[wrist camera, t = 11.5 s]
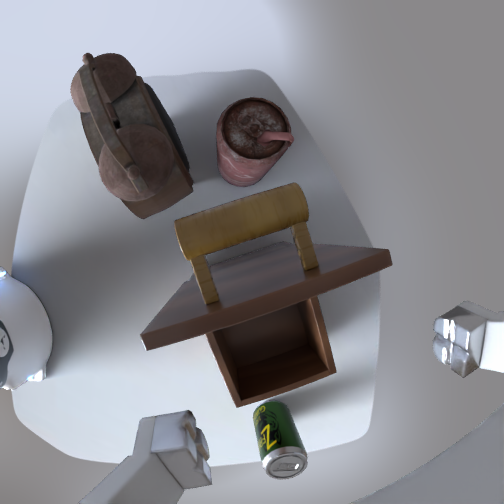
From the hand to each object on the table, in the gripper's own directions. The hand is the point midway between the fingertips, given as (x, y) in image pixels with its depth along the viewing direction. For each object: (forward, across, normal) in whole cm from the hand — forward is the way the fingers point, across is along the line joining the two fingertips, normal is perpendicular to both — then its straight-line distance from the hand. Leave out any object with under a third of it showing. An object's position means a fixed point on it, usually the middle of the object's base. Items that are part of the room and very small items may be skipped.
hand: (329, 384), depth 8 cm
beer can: (+27, +2, +25) cm, 37 cm away
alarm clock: (+31, +6, -12) cm, 34 cm away
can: (+30, -4, -9) cm, 32 cm away
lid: (+12, 0, 0) cm, 12 cm away
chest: (+28, -1, +9) cm, 30 cm away
